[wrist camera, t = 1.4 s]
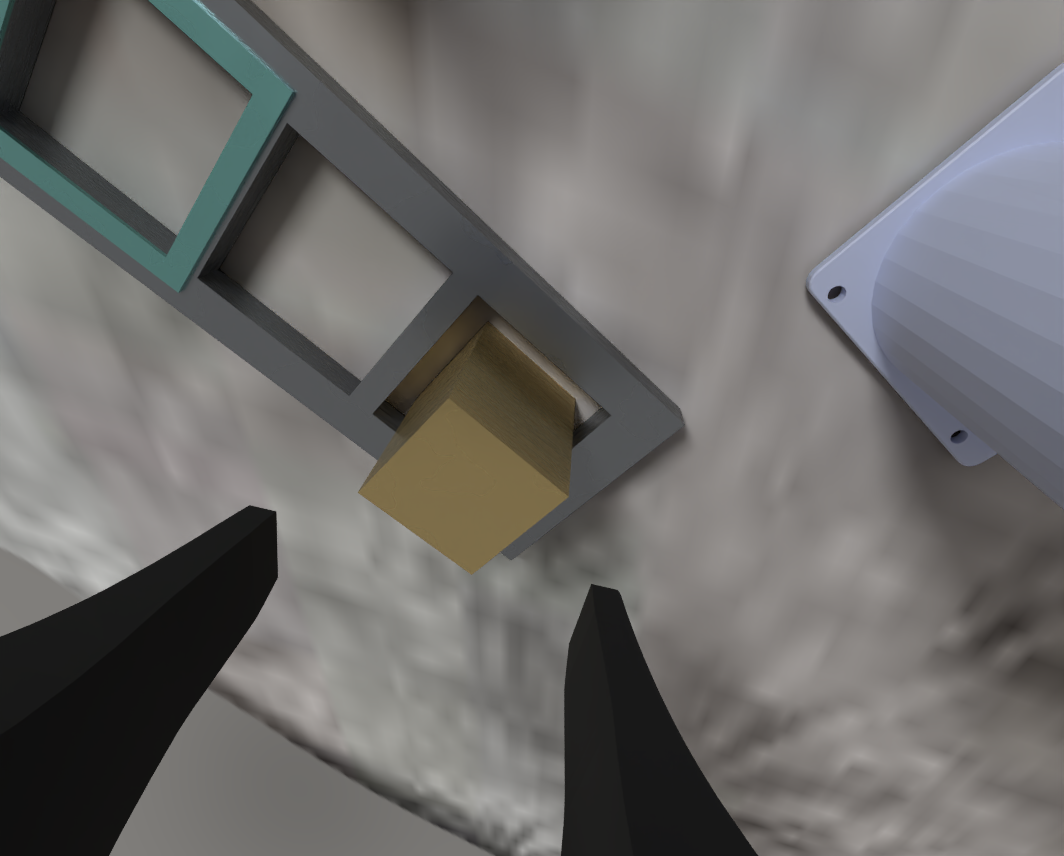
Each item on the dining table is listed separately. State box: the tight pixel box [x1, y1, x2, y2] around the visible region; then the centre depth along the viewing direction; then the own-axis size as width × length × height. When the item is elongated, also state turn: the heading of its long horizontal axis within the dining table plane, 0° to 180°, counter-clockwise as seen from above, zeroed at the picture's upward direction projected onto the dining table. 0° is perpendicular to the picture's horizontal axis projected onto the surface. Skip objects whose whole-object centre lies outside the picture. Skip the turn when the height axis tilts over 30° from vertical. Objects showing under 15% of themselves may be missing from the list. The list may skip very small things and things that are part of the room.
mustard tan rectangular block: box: [358, 322, 575, 575], centre depth 18 cm, size 4×4×6 cm
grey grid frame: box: [0, 0, 685, 560], centre depth 18 cm, size 24×9×1 cm, turn 48°
